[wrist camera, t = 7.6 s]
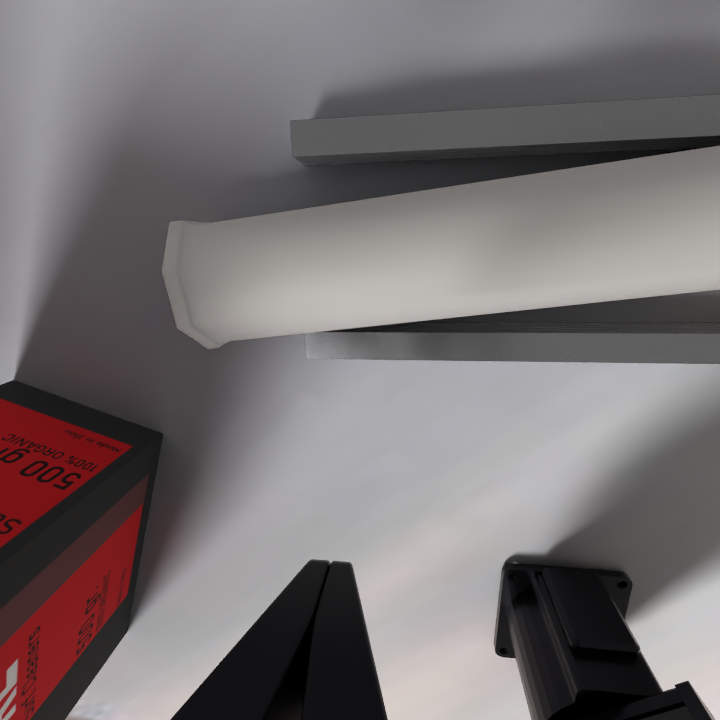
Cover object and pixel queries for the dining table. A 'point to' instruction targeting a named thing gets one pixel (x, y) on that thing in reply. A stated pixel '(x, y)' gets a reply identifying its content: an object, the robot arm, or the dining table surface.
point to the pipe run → (516, 138)
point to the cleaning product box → (66, 544)
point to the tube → (453, 251)
